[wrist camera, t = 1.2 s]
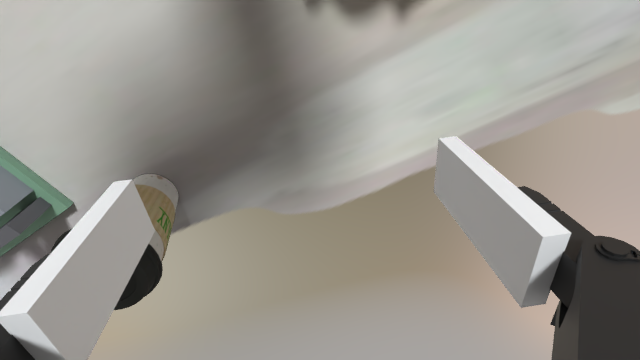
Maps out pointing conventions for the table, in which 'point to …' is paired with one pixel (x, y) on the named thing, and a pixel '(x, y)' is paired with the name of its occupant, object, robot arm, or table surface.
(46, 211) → the heatsink module
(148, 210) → the coffee cup
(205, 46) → the table surface
